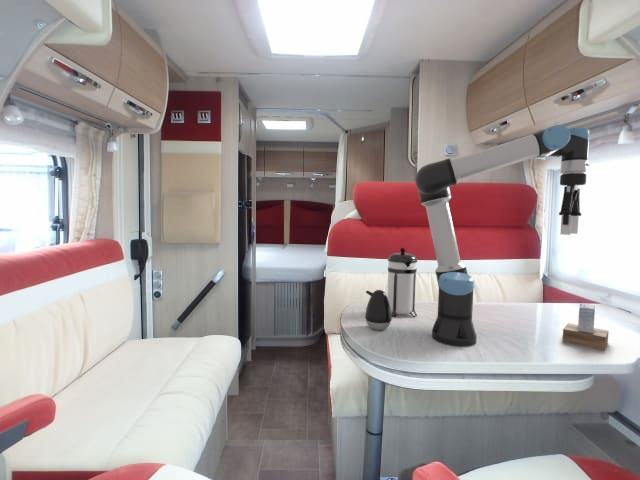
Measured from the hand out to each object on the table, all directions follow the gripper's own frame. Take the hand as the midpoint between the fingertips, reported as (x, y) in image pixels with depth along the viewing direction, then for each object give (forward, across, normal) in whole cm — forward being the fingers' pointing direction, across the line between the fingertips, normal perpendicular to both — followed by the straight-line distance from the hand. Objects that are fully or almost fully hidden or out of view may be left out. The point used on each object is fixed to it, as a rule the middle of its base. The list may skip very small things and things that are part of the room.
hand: (569, 234), depth 126 cm
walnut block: (+39, +4, -6) cm, 40 cm away
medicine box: (+34, +4, -6) cm, 35 cm away
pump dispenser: (+39, -38, +54) cm, 77 cm away
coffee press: (+39, -13, +60) cm, 73 cm away
